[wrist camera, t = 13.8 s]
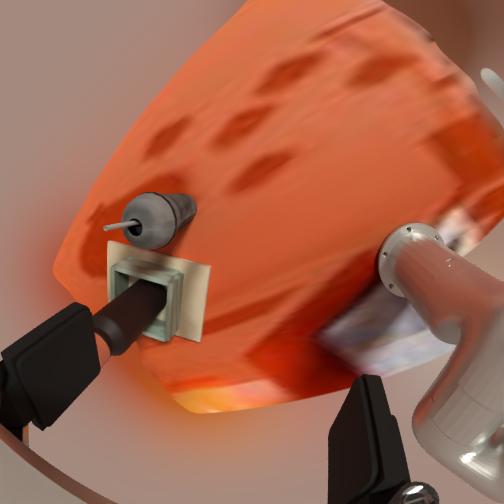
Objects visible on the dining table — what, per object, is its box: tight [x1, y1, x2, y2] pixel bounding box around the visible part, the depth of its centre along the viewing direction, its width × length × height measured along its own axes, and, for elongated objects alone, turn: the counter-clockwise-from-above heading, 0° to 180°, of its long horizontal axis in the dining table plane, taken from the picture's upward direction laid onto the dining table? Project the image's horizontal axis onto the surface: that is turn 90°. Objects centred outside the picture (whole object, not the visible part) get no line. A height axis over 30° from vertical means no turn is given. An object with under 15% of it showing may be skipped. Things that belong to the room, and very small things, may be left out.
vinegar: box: [93, 278, 167, 368], centre depth 40 cm, size 7×7×20 cm
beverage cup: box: [104, 192, 197, 250], centre depth 36 cm, size 7×7×20 cm
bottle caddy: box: [107, 241, 211, 342], centre depth 47 cm, size 20×15×6 cm
